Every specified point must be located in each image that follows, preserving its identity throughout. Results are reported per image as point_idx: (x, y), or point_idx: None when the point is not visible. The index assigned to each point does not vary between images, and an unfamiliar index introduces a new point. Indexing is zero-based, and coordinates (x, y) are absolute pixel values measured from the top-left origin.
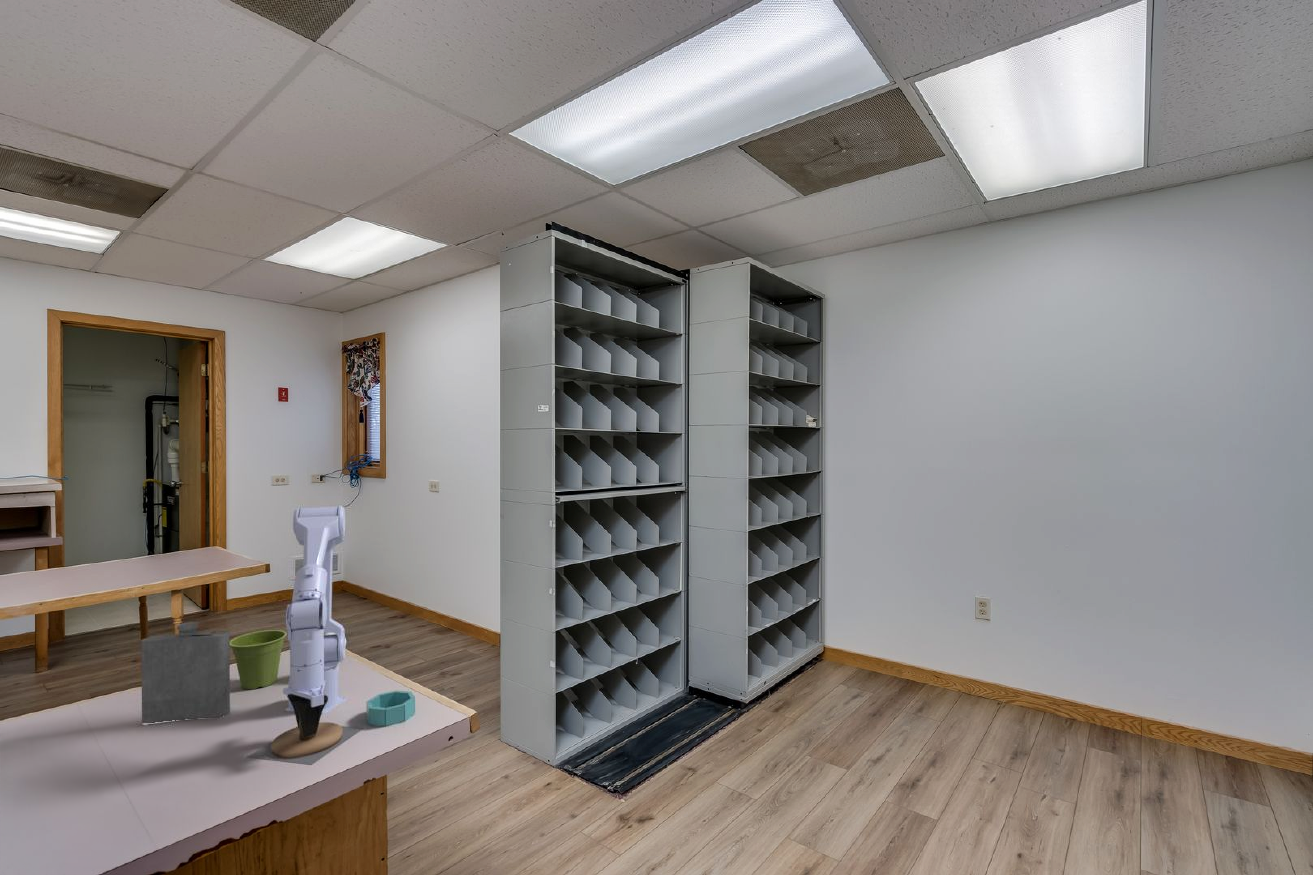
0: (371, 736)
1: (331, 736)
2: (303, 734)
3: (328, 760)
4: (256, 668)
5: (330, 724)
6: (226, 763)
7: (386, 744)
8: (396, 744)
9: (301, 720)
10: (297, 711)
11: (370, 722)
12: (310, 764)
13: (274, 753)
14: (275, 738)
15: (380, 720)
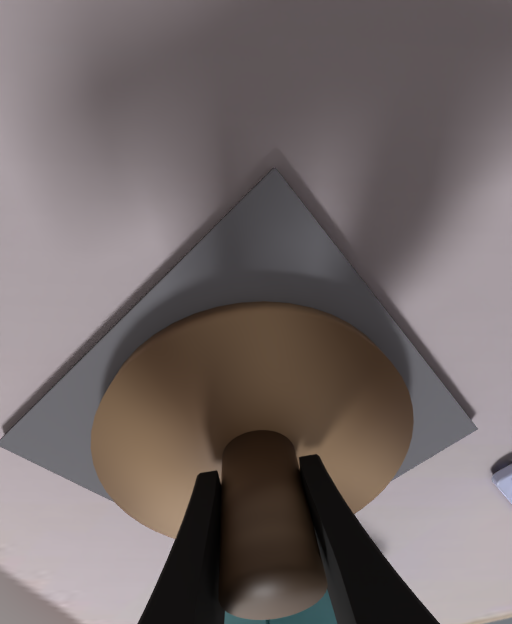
0: None
1: None
2: (207, 479)
3: (43, 480)
4: None
5: None
6: (292, 29)
7: (92, 595)
8: (78, 610)
9: (145, 612)
10: (347, 598)
11: None
12: (1, 439)
13: (193, 318)
14: (355, 336)
15: (231, 620)
